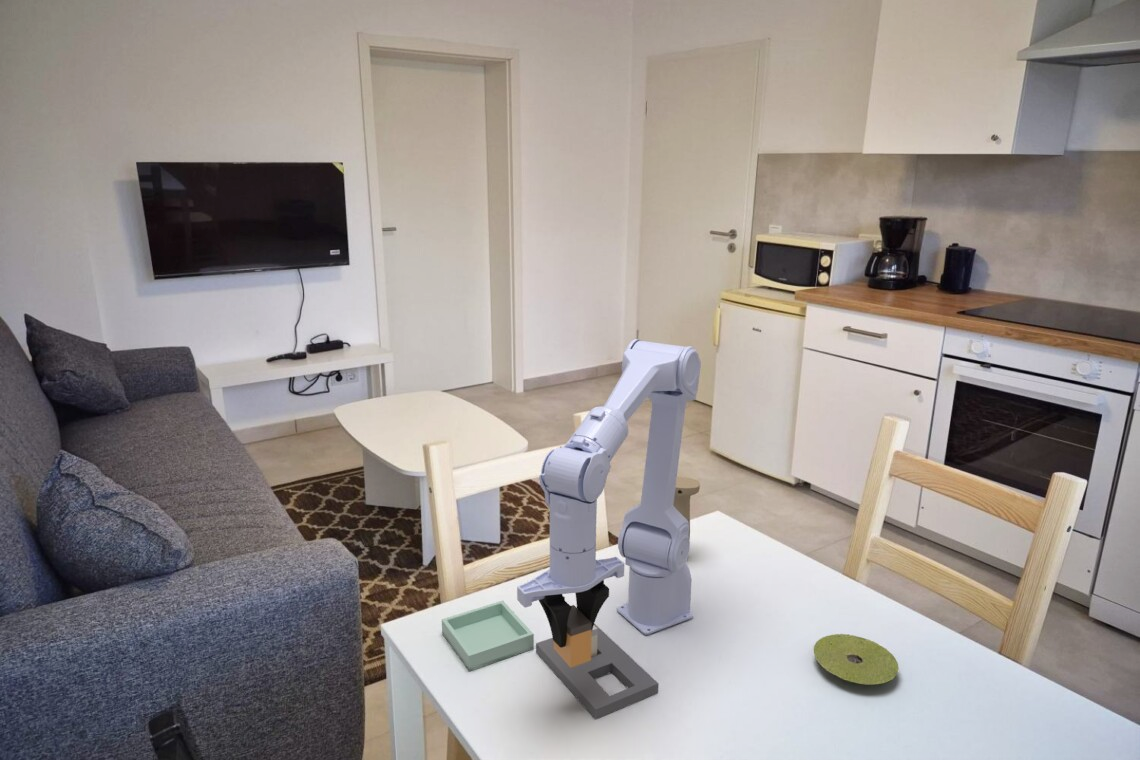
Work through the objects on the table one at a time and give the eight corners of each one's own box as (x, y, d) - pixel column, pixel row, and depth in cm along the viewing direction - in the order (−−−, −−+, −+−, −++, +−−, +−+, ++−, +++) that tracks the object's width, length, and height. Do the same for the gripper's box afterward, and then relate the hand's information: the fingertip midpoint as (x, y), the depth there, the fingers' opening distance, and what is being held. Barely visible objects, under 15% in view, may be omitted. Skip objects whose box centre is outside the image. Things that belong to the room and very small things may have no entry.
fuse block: (593, 631, 114) (594, 623, 113) (658, 692, 101) (658, 683, 100) (536, 652, 109) (536, 643, 108) (595, 719, 96) (595, 709, 95)
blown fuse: (573, 641, 99) (573, 604, 97) (591, 660, 95) (591, 622, 93) (553, 648, 97) (553, 611, 96) (570, 667, 94) (570, 629, 92)
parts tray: (503, 614, 118) (502, 600, 117) (533, 648, 110) (533, 634, 109) (442, 633, 113) (441, 619, 112) (469, 671, 105) (468, 656, 104)
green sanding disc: (835, 635, 113) (836, 624, 113) (910, 669, 106) (912, 657, 105) (797, 668, 106) (798, 656, 105) (875, 708, 98) (877, 695, 98)
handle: (694, 567, 132) (699, 489, 128) (658, 563, 134) (661, 486, 130) (696, 554, 137) (700, 478, 133) (661, 550, 138) (664, 475, 134)
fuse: (580, 645, 111) (580, 612, 109) (596, 661, 107) (597, 628, 106) (562, 651, 109) (563, 618, 108) (579, 668, 106) (579, 634, 104)
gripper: (603, 516, 99) (601, 607, 103) (505, 542, 92) (506, 639, 95) (635, 538, 93) (631, 633, 97) (532, 568, 86) (533, 670, 89)
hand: (571, 638), depth 96 cm, fingers closed on blown fuse, 3 cm apart
